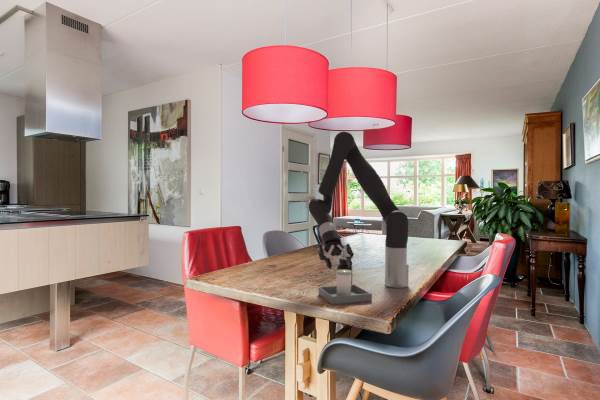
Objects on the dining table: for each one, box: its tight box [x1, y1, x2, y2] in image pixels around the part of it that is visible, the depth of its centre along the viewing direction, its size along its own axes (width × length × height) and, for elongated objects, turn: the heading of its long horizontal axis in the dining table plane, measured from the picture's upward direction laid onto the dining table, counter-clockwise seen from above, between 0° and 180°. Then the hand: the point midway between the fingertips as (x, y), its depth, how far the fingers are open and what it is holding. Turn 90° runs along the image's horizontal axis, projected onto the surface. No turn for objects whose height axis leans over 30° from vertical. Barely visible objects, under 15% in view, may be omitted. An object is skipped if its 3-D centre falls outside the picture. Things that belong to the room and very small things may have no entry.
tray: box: [318, 283, 373, 306], centre depth 133 cm, size 16×14×3 cm
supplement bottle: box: [336, 257, 353, 285], centre depth 152 cm, size 7×7×12 cm
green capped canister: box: [335, 269, 353, 296], centre depth 133 cm, size 6×6×10 cm
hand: (340, 267), depth 137 cm, fingers open, 8 cm apart
